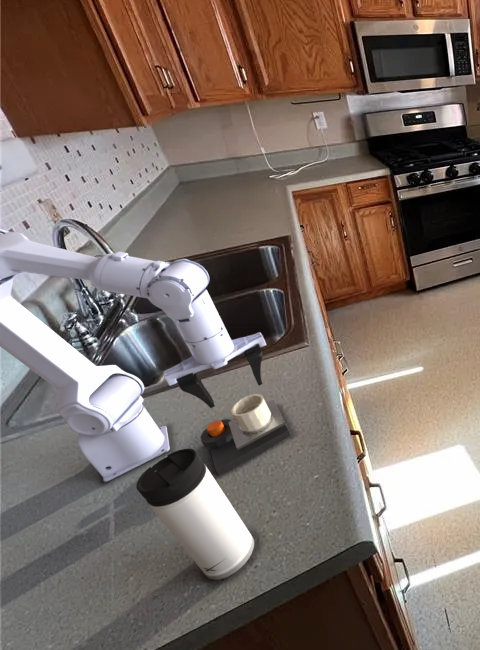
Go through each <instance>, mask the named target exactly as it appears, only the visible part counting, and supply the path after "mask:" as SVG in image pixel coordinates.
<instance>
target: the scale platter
mask: <svg viewBox="0 0 480 650" xmlns="http://www.w3.org/2000/svg"><path fill="white" fill-rule="evenodd" d="M266 404H267V406H268V408H269V410H270V412H271V416H270V419H269V421H268V422H267V424H266V425H264V426H263V427H262V428H260V429H258V430H256V431H252V432H247V431H242V430H241V429H240V428H239V426H238V424H237V422H236V420H235V419H231V420H232V421H230V422H228V423H229V426H230V429H231V432H232V435H233V438H234V441H235V444H236V447H237V449H238V450H239V449H241V448H243V447H245V446H246V445H248V444H250V443H252V442H254V441H256V440H258V439H259V438H261V437H263V436H265V435H267V434H269V433H270V432H272V431H274V430H276V429H278V428H280V427H282V426H283V425H285V424H286V422H285V419H284V417H283V415H282V414H281V411H280V410H279V407H278V406H277V403H276V401H275V399H272V400H270V401H267V402H266ZM286 425H287V424H286Z"/></svg>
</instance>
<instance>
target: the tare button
mask: <svg viewBox="0 0 480 650" xmlns="http://www.w3.org/2000/svg"><path fill="white" fill-rule="evenodd" d="M220 420H221V419H220ZM220 420H214V421H212V422H210V423H209V424H208V425H207V427H206V428H207V431H208V432H209V434H210V436H211V437H216V436H218V435H220V434H222V433H223V432H224V431H225V427H224V425H223V423H222V422H221V421H220Z"/></svg>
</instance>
